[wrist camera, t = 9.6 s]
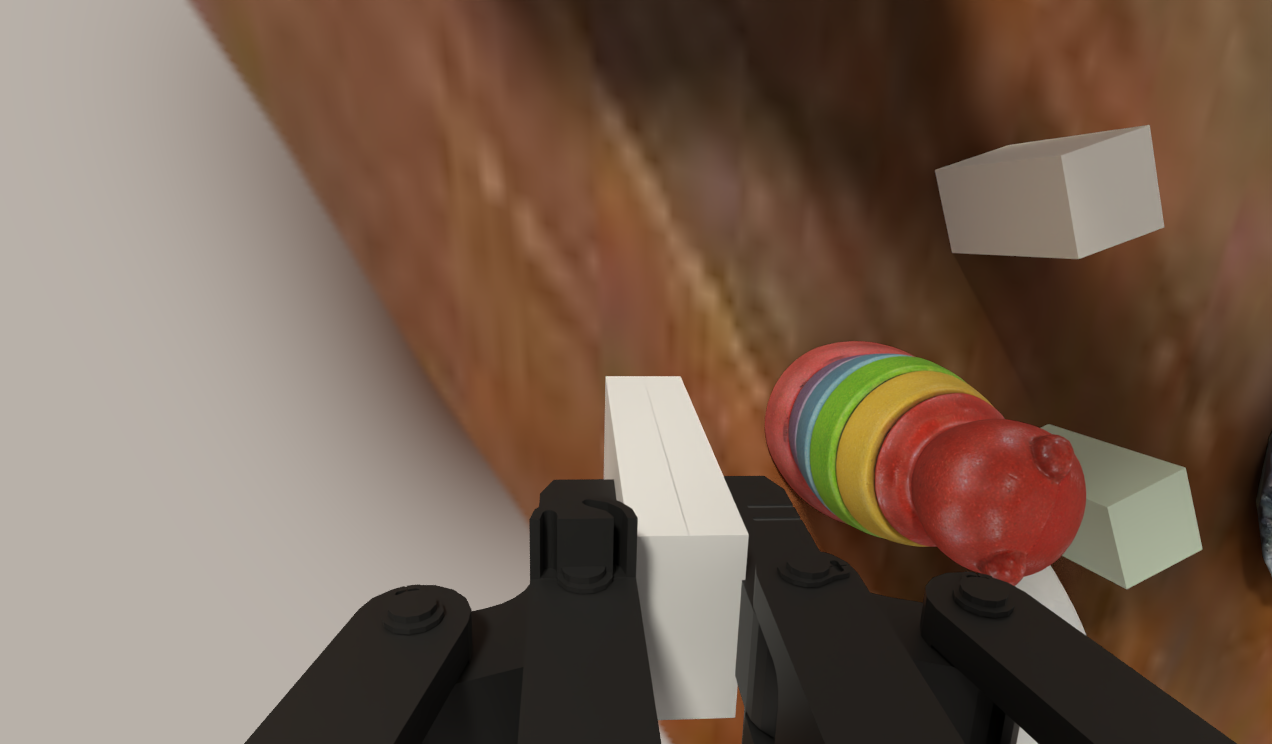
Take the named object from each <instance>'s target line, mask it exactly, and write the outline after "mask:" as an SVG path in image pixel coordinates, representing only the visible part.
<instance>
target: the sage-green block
mask: <svg viewBox="0 0 1272 744" xmlns="http://www.w3.org/2000/svg"><path fill="white" fill-rule="evenodd" d="M1041 429H1044V430H1046V431H1048V432H1049V433H1051V434H1055V435H1060V436H1062V437H1064V438H1066V439H1067V440H1069V441H1070V443H1071V445H1072V447H1073V450H1074V453H1075V455H1076V457H1077V459H1078V460H1079V462H1080V465H1081V467H1082V470H1083V473H1084V478H1085V484H1086V506H1085V512H1084V516H1083V520H1082V522H1081V525H1080V527H1079V529H1078V532H1077V534H1076V536H1075V538H1074V540H1073V541H1072V543H1071V545H1070V546H1069V547H1068V548H1067V550H1066V551H1065V552H1064V554H1063V555H1062V556H1064V557H1066V558H1068V559H1069V560H1071V561H1073V562H1075V563H1077V564H1079V565H1081V566H1083V567H1085V568H1087V569H1089V570H1091V571H1092V572H1094V573H1096V574H1098V575H1100V576H1102V577H1104V578H1106V579H1108V580H1110V581H1112V582H1113V583H1115V584H1117V585H1119V586H1121V587H1123V588H1125V589H1128V588H1130V587H1132V586H1134V585H1136V584H1138V583H1140V582H1142V581H1144V580H1145V579H1147V578H1149V577H1151V576H1153V575H1155V574H1157V573H1159V572H1161V571H1163V570H1164V569H1166V568H1168V567H1170V566H1172V565H1174V564H1176V563H1178V562H1180V561H1182V560H1183V559H1185V558H1187V557H1189V556H1191V555H1193V554H1195V553H1197V552H1199V551H1201V550H1202V544H1201V539H1200V535H1199V530H1198V525H1197V520H1196V515H1195V510H1194V506H1193V501H1192V496H1191V491H1190V486H1189V481H1188V477H1187V472H1186V468H1185V467H1182V466H1179V465H1176V464H1173V463H1169V462H1166V461H1163V460H1160V459H1157V458H1154V457H1151V456H1148V455H1144V454H1141V453H1138V452H1135V451H1132V450H1129V449H1126V448H1122V447H1119V446H1116V445H1113V444H1110V443H1107V442H1104V441H1101V440H1097V439H1094V438H1091V437H1088V436H1085V435H1082V434H1079V433H1076V432H1072V431H1069V430H1066V429H1063V428H1060V427H1057V426H1054V425H1050V424H1047V425H1045V426H1043V427H1041Z"/></svg>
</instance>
